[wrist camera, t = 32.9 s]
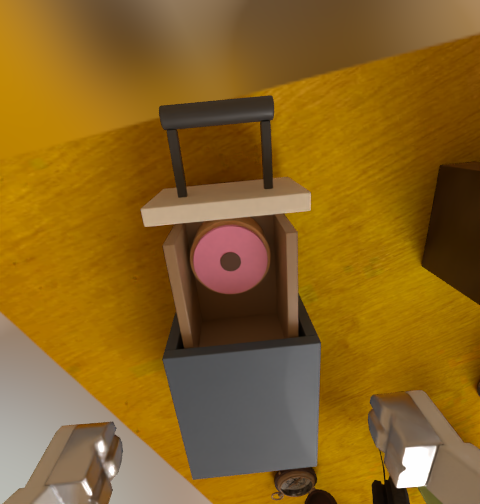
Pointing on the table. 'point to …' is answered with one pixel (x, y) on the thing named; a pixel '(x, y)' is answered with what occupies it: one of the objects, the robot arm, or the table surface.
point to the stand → (456, 229)
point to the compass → (301, 486)
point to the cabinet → (247, 402)
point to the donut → (230, 255)
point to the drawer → (225, 207)
